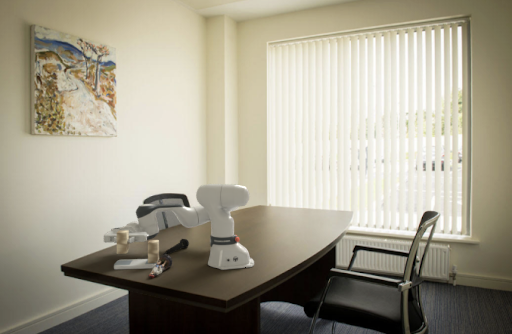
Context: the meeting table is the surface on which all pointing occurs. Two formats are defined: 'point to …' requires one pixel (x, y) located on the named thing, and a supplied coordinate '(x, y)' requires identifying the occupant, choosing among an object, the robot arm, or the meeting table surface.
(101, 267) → the meeting table surface
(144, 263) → the white base board
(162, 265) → the figurine
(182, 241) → the microphone
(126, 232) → the loose pillar
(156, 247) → the standing pillar
